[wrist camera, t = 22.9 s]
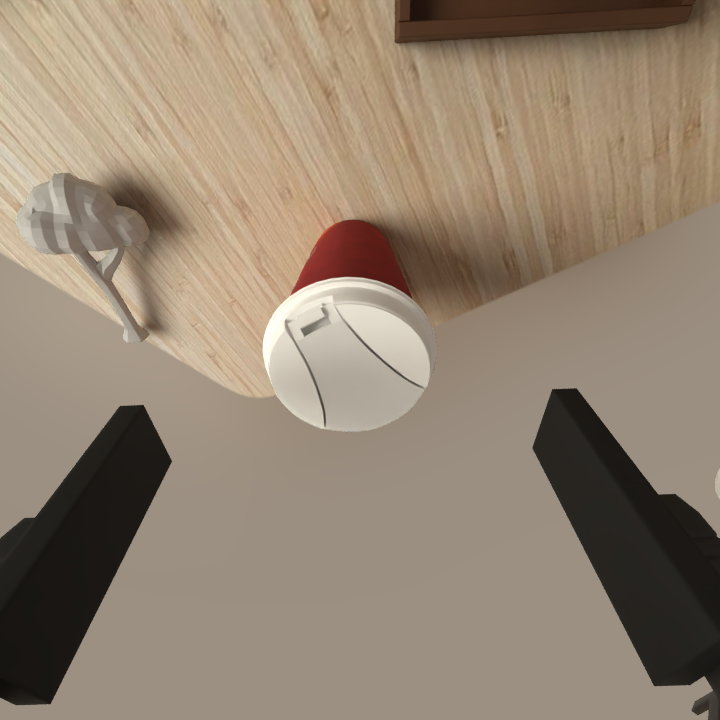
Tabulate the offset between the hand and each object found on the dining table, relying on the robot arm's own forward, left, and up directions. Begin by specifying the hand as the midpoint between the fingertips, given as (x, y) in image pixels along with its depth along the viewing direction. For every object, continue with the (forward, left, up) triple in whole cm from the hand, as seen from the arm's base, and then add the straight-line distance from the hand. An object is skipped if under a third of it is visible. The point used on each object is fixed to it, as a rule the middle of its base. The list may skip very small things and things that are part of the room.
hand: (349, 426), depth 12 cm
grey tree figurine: (-6, +17, -16) cm, 25 cm away
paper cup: (-1, 0, -18) cm, 18 cm away
